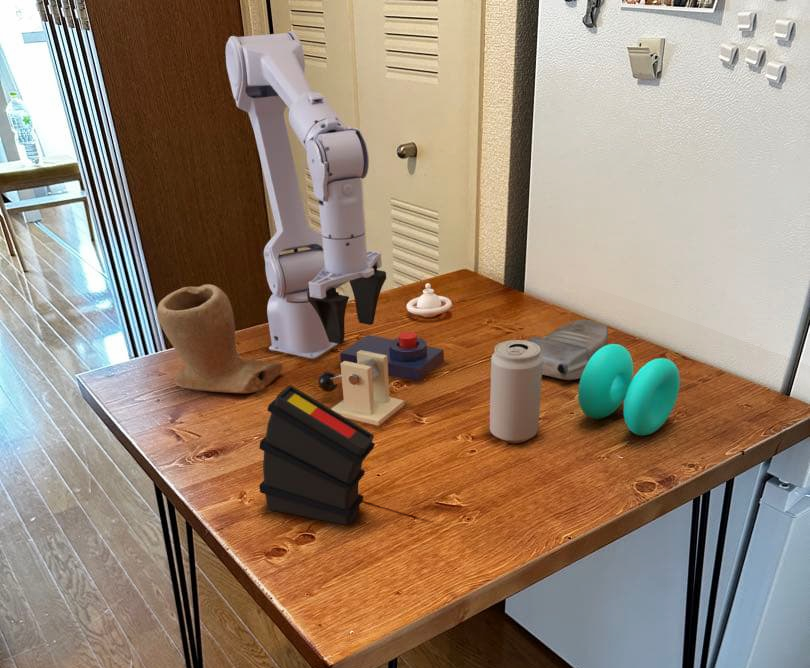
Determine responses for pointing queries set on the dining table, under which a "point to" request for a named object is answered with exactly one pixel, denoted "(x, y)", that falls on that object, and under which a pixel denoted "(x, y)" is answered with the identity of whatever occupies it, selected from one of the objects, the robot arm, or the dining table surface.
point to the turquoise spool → (629, 389)
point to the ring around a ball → (429, 304)
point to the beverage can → (515, 390)
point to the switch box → (366, 391)
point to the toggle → (331, 381)
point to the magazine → (312, 459)
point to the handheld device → (570, 348)
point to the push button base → (398, 356)
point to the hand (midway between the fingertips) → (351, 332)
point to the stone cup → (210, 343)
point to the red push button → (407, 340)
